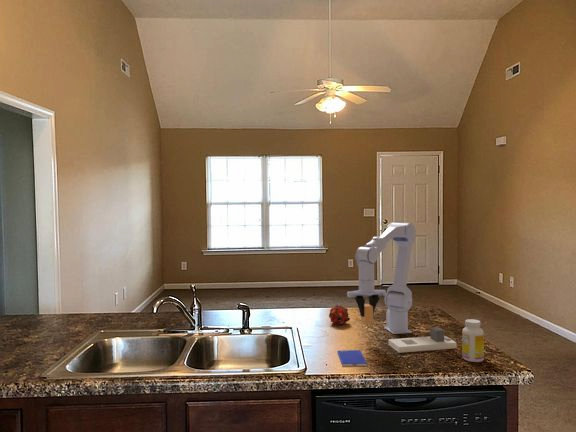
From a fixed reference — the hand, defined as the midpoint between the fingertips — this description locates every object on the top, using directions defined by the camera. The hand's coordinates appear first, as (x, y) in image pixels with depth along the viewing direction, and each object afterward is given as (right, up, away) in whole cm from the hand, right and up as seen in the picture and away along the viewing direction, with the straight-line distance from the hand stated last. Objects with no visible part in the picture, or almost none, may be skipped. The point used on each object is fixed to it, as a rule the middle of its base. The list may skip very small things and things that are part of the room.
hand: (366, 315), depth 169 cm
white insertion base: (+19, -10, -4) cm, 22 cm away
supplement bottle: (+32, -11, -18) cm, 38 cm away
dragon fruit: (-7, -10, +27) cm, 30 cm away
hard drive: (-8, -12, -16) cm, 22 cm away
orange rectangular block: (0, -2, 0) cm, 2 cm away
